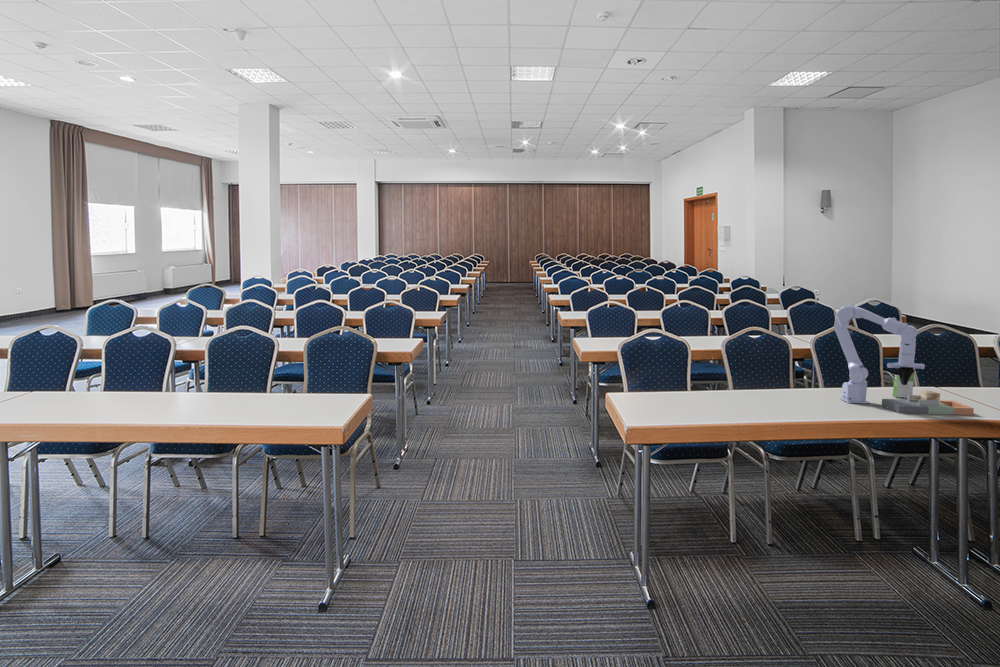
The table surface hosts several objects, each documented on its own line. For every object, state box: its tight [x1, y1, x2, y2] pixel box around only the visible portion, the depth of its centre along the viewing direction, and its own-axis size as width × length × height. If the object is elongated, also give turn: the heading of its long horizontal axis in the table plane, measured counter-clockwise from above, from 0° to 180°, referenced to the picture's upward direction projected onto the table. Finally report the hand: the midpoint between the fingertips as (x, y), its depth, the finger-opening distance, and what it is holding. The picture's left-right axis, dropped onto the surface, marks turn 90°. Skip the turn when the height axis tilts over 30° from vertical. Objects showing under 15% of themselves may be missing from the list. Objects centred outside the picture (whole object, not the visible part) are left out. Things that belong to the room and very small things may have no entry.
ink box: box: [892, 372, 915, 399], centre depth 304 cm, size 7×4×13 cm, turn 84°
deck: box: [881, 398, 975, 416], centre depth 280 cm, size 30×14×3 cm, turn 86°
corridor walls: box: [907, 394, 939, 406], centre depth 280 cm, size 8×9×2 cm
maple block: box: [920, 390, 941, 405], centre depth 279 cm, size 5×5×5 cm
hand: (903, 384), depth 283 cm, fingers closed
